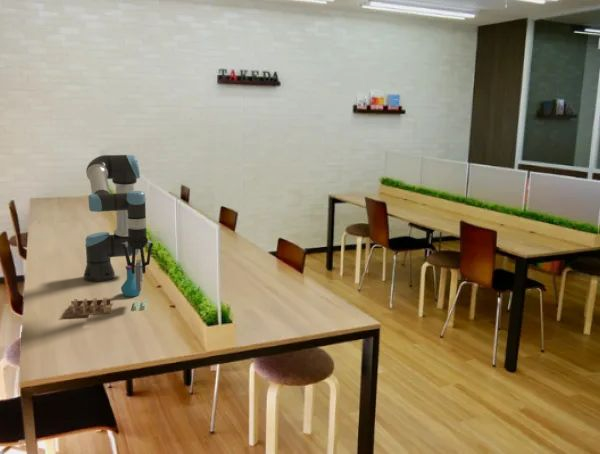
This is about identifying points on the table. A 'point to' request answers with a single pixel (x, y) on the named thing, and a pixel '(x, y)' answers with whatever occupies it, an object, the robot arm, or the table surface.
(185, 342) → the table surface
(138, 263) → the thick grey slab
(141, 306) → the stand
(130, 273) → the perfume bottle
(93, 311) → the rack
